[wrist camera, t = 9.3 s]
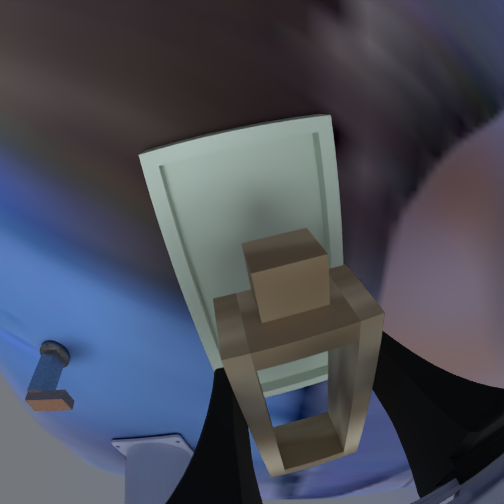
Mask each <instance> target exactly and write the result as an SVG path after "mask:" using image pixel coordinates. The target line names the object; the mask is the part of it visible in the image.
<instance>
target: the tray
mask: <svg viewBox="0 0 504 504" xmlns="http://www.w3.org/2000/svg"><path fill="white" fill-rule="evenodd" d="M139 158H140V162H141V165H142V169H143V172H144V176H145V180H146V183H147V186H148V190H149V193H150V197H151V200H152V203H153V207H154V210H155V213H156V216H157V219H158V223H159V226H160V229H161V232H162V235H163V238H164V241H165V244H166V247H167V250H168V253H169V256H170V259H171V262H172V265H173V268H174V270H175V273H176V276H177V279H178V282H179V284H180V287H181V290H182V293H183V295H184V298H185V301H186V303H187V306H188V309H189V311H190V314H191V317H192V319H193V322H194V324H195V327H196V329H197V332H198V334H199V337H200V339H201V342H202V344H203V347H204V349H205V352H206V354H207V356H208V359H209V361H210V364H211V366H212V368H213V371H215V370H216V369H217V368H222V367H223V364H222V361H221V356H220V349H219V342H218V334H217V327H216V319H215V311H214V303H213V298H217V297H222V296H226V295H230V294H234V293H238V292H242V291H246V290H250V289H251V286H250V282H249V277H248V273H247V268H246V264H245V259H244V255H243V250H242V245H241V243H245V242H249V241H253V240H257V239H262V238H266V237H270V236H274V235H278V234H282V233H287V232H291V231H295V230H299V229H303V228H307V229H308V230H309V231H310V232H311V234H312V235H313V236H314V237H315V239H316V240H317V241H318V242H319V243H320V245H321V246H322V247H323V248H324V250H325V251H326V252H327V253H328V264H329V269H330V268H334V267H338V266H341V265H343V243H342V224H341V209H340V196H339V184H338V174H337V164H336V154H335V146H334V137H333V129H332V122H331V115H325V114H315V115H307V116H300V117H293V118H287V119H280V120H274V121H268V122H263V123H257V124H252V125H246V126H241V127H236V128H232V129H227V130H222V131H218V132H213V133H209V134H205V135H200V136H196V137H192V138H188V139H184V140H181V141H177V142H173V143H169V144H166V145H162V146H159V147H155V148H152V149H148V150H145V151H143V152H142V153H141V154H139ZM257 373H258V377H259V380H260V384H261V387H262V391H263V395H264V398H266V397H270V396H274V395H278V394H281V393H285V392H289V391H292V390H296V389H299V388H302V387H306V386H309V385H312V384H316V383H319V382H322V381H325V380H328V351H326V352H323V353H319V354H316V355H313V356H310V357H306V358H303V359H299V360H296V361H292V362H289V363H285V364H282V365H278V366H274V367H270V368H267V369H263V370H259V371H257Z"/></svg>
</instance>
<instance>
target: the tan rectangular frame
mask: <svg viewBox="0 0 504 504" xmlns="http://www.w3.org/2000/svg"><path fill="white" fill-rule="evenodd" d="M241 245H242V250H243V255H244V259H245V264H246V268H247V273H248V277H249V282H250V286H251V289H250V290H246V291H242V292H238V293H234V294H230V295H226V296H222V297H217V298H213V303H214V311H215V319H216V327H217V334H218V342H219V349H220V356H221V361H222V364H223V367H224V369H225V372H226V374H227V377H228V379H229V382H230V384H231V387H232V389H233V391H234V394H235V396H236V399H237V401H238V404H239V406H240V408H241V411H242V413H243V415H244V418H245V420H246V422H247V425H248V427H249V429H250V432H251V434H252V436H253V438H254V441H255V443H256V445H257V447H258V450H259V452H260V454H261V456H262V458H263V461H264V463H265V465H266V467H267V469H268V471H269V473H270V475H271V477H275V476H280V475H284V474H288V473H292V472H295V471H299V470H302V469H306V468H309V467H313V466H316V465H319V464H322V463H326V462H329V461H332V460H335V459H337V458H340V457H343V456H346V455H349V454H351V453H354V452H357V448H358V445H359V441H360V437H361V434H362V430H363V426H364V422H365V418H366V414H367V410H368V406H369V401H370V397H371V392H372V387H373V383H374V378H375V372H376V367H377V362H378V356H379V350H380V344H381V338H382V331H383V323H384V316H385V312H384V311H383V310H382V308H381V307H380V306H379V305H378V303H377V302H376V301H375V300H374V298H373V297H372V296H371V295H370V293H369V292H368V291H367V290H366V288H365V287H364V286H363V285H362V283H361V282H360V281H359V280H358V278H357V277H356V276H355V275H354V274H353V272H352V271H351V270H350V269H349V268H348V266H347V265H346V264H345V265H341V266H338V267H334V268H330V269H329V264H328V253H327V252H326V251H325V250H324V248H323V247H322V246H321V245H320V243H319V242H318V241H317V240H316V239H315V237H314V236H313V235H312V234H311V232H310V231H309V230H308V229H307V228H303V229H299V230H295V231H291V232H287V233H282V234H278V235H274V236H270V237H266V238H262V239H257V240H253V241H249V242H245V243H241ZM326 351H328V409H327V412H325V413H322V414H319V415H316V416H312V417H309V418H306V419H302V420H299V421H295V422H292V423H288V424H285V425H281V426H277V427H273V426H272V422H271V419H270V415H269V412H268V408H267V405H266V402H265V398H264V395H263V391H262V387H261V384H260V380H259V377H258V373H257V371H259V370H263V369H267V368H270V367H274V366H278V365H282V364H285V363H289V362H292V361H296V360H299V359H303V358H306V357H310V356H313V355H316V354H319V353H323V352H326Z"/></svg>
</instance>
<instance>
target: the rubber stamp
mask: <svg viewBox="0 0 504 504" xmlns="http://www.w3.org/2000/svg"><path fill="white" fill-rule="evenodd" d="M40 354H41V357H40V360H39V362H38V365H37V367H36V369H35V372H34V374H33V377H32V379H31V382H30V385H29V387H28V390H27V391H28V393H27V396H26V398H25V401H26V402H27V403H28V404H29V405H30V406H31V407H32V408H33V409H34V410H35V411H60V410H72V409H73V404H74V400H73V399H72V397H71V396H70V395H69V394H68V393H67V392H66V390H56V387H57V384H58V381H59V378H60V375H61V372H62V369H63V368H64V367H66V366H67V365H68V364H69V361H70V355H69V352H68V351H67V350H66V348H65V347H63V346H62V345H61V344H59V343H57V342H54V341H45V342H43V344H42V346H41V348H40Z"/></svg>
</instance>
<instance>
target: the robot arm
mask: <svg viewBox="0 0 504 504" xmlns="http://www.w3.org/2000/svg"><path fill="white" fill-rule="evenodd" d="M372 389H373V391H374V392H375V394H376V396H377V397H378V399H379V401H380V402H381V404H382V406H383V407H384V409H385V410H386V412H387V414H388V415H389V417H390V419H391V421H392V423H393V425H394V427H395V430H396V432H397V434H398V436H399V439H400V441H401V444H402V446H403V449H404V451H405V454H406V457H407V459H408V462H409V465H410V468H411V471H412V474H413V478H414V481H415V485H416V488H417V492H418V494H419V497H420V499H419V500H417V501H415V502H413V503H411V504H439V503H441V502H442V501H444V500H446V499H447V498H449V497H451V496H452V495H454V494H455V493H456V494H455V495H454V499H453V500H452V501H450V502H449V503H447V504H504V389H502V388H497V387H491V386H487V385H483V384H480V383H476V382H473V381H470V380H467V379H465V378H462V377H459V376H456V375H454V374H452V373H449V372H447V371H445V370H443V369H441V368H439V367H437V366H435V365H433V364H431V363H430V362H428V361H426V360H425V359H423V358H421V357H420V356H418V355H416V354H415V353H413V352H412V351H410V350H409V349H407V348H406V347H404V346H403V345H401V344H400V343H399V342H397V341H396V340H394V339H393V338H392V337H390V336H389V335H387V334H386V333H385V332H383V331H382V338H381V344H380V350H379V356H378V362H377V367H376V372H375V378H374V383H373V387H372ZM112 445H113V446H114V447H115V448H116V449H118V450H119V451H120V452H121V453H122V454H123V455H124V456H125V457H126V471H125V504H263V503H262V499H261V496H260V492H259V488H258V484H257V480H256V476H255V472H254V468H253V462H252V455H251V447H250V439H249V431H248V425H247V422H246V420H245V418H244V415H243V413H242V411H241V408H240V406H239V404H238V401H237V399H236V396H235V394H234V391H233V389H232V387H231V384H230V382H229V379H228V377H227V374H226V372H225V369H224V367H222V368H217V369H216V370H215V371H214V381H213V388H212V394H211V399H210V403H209V408H208V412H207V416H206V419H205V423H204V426H203V429H202V432H201V435H200V438H199V441H198V444H197V446H196V449H195V451H194V452H193V450H192V449H191V448H190V447H189V446H188V444H187V443H186V442H185V441H184V440H183V438H182V437H181V436H180V435H177V434H175V435H167V436H157V437H147V438H135V439H119V440H112Z"/></svg>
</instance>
